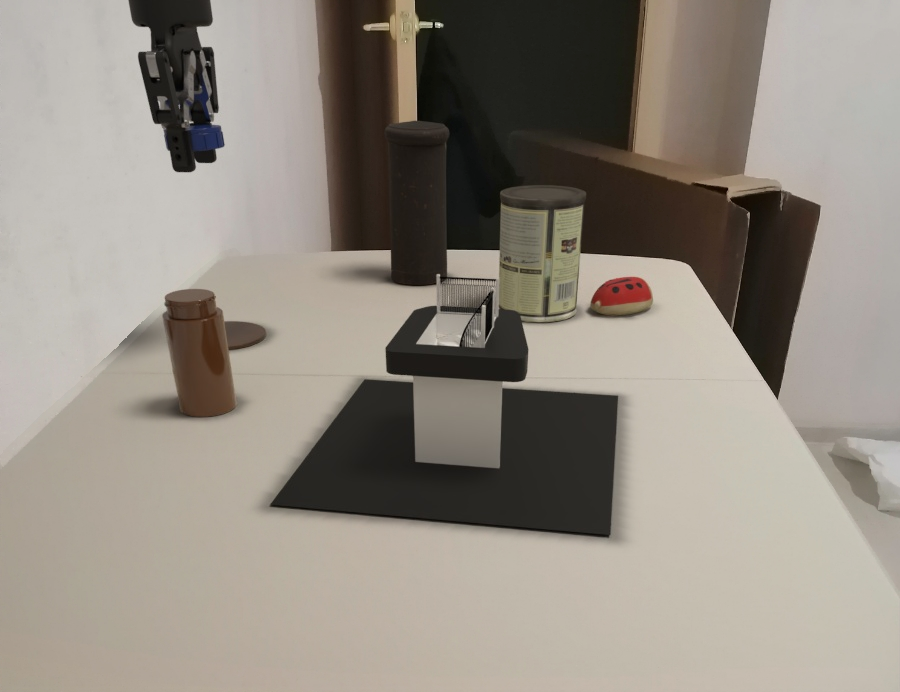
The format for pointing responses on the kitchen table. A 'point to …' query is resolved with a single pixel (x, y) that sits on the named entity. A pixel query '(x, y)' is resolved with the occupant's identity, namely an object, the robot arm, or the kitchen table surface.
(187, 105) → the robot arm
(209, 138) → the lid
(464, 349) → the black-topped pedestal
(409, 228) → the container
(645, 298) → the ladybug figurine
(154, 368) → the kitchen table surface
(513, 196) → the coffee can
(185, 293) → the jar
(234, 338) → the coaster
